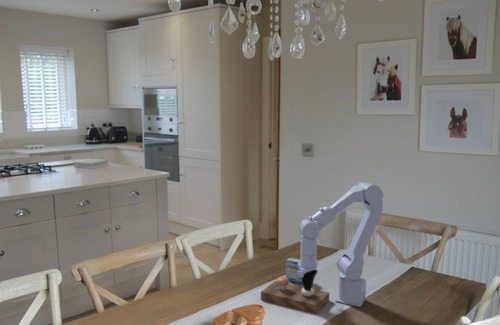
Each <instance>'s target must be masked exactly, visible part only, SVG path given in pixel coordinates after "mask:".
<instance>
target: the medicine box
mask: <svg viewBox="0 0 500 325" xmlns="http://www.w3.org/2000/svg"><path fill="white" fill-rule="evenodd" d="M298 263H300V259H299V258H295V257H288V258H287V260H285V277H287V278H288V279H289V282H291V283H296V284H302V285H303V282H302V279H301V277H297V271H298V270H299V266H297V264H298Z"/></svg>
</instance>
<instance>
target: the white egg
mask: <svg viewBox="0 0 500 325" xmlns="http://www.w3.org/2000/svg"><path fill="white" fill-rule="evenodd" d="M314 289H315V288H313V287H312V288H311V290H310V291H307V290H304V288H302V295H304V296H306V297H311V296H313V295H314Z"/></svg>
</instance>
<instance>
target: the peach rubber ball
mask: <svg viewBox="0 0 500 325" xmlns="http://www.w3.org/2000/svg"><path fill="white" fill-rule="evenodd" d="M276 281H277V284H279V290H282V291H284V290H286V285H288V284H290V281H289V279H288V278H287V277H286V276H279V277H277V278H276Z"/></svg>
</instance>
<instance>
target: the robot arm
mask: <svg viewBox="0 0 500 325" xmlns="http://www.w3.org/2000/svg"><path fill="white" fill-rule="evenodd" d="M384 197H385V194H384V192H383V191H382V189H381V187H380V186H378V185H377V184H373V183H370V182H368V181H367V180H360V181H358V183H357V184H355V185H353V186H351V188H350V189H349V190H348V191H347V192H346V193H345V194H344V195H342V196H341V197H340V198H339V199H338V200H337V201H335V202H334V203H333V204H331V206H324V207H323V206H322V207H319V208H318V211H316V213H314V214H313V215H309V216H308V218H306V219H303V220H302V221H301V222H300V224H299V226H298V231H299V232H300V252H299V253H300V256H299V257H300V263H298V264H297V266H299V270H298V271H297V277H301V279H302V282H303V284H302V287H304V290H307V291H310V290H311V288H313V283H314V280H315V277H316V275H317V274H318V269H317V268H318V265H319V259H317V255H318V254H317V251H318V248H317V246H318V244H317V243H318V242H317V238H318V236H319V235H320V233H321V231H322V230H323V229H324V228H326V227H327V226H328V225H330V224H331V223H333V222H334V221H335V219H336V217H337V215H338V213H340V212H342V211H343V210H345V209H346V208H348V207H349V206H351V205H352V204H354V203H363V205H364V207H365V211H364V214H363V216H362V218H361V220H360V223H359V224H358V227H357V229H356V232H355V234H354V236H353V237H352V238H353V239H352V240H351V243H350V245H349V247H348V248H347V249H346V250H344V252H343V253H342V255H341V256H340V257H339V258H338V259H337V262H336V265H337V268H338V270H339V274H338V295H337V297H336V298H335V299H334V302H337V303H342V304H345V305H350V306H355V307H359V308H361V307H362V305H364V304H363V303H365V301H366V300H367V296H366V295H367V281H366V279H364V278H361V277H362V274H363V271H364V270H363V267H364V264H365V259H364V254H365V252H366V249H367V248H368V245H369V242H370V240H371V238H372V235H373V233H374V231H375V228H376V226H377V224H378V222H379V220H380V218H381V215H382V213H383V211H384V209H383V207H384V205H383V199H384Z"/></svg>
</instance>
